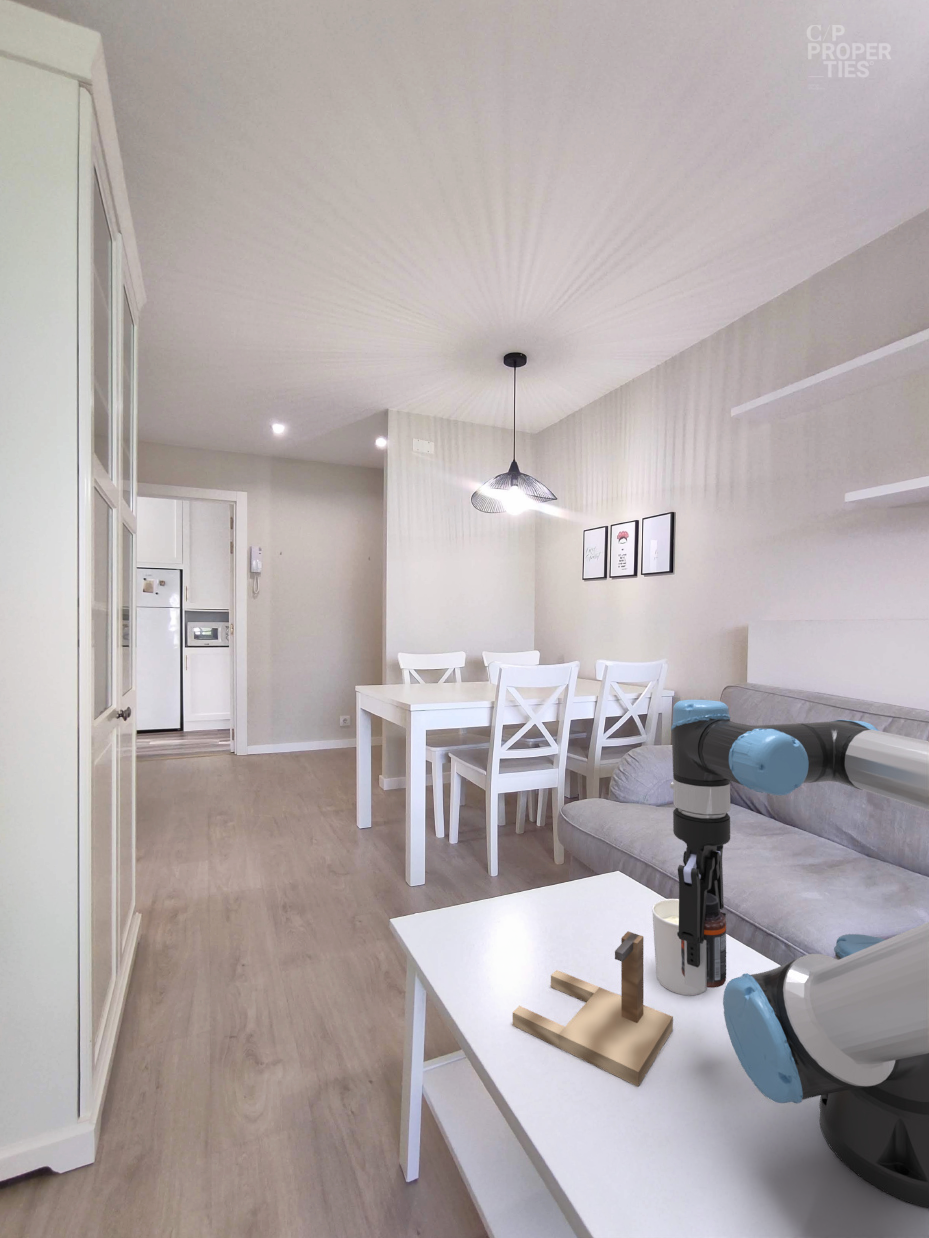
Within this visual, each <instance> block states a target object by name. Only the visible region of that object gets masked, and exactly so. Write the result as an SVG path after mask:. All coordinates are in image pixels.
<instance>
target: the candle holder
mask: <svg viewBox="0 0 929 1238" xmlns="http://www.w3.org/2000/svg"><path fill="white" fill-rule="evenodd" d="M651 913H652V922H653V923H652V924H653V927H652V928H653V940H654V941H653V943H654V958H655V973H656V979H657V981H658V983H659V984H660V985H661V986H662V987H663V988H665V989H666V990H668V991H670V992H673V993H674V994H676V995H677V994H678V995H682V996H699V995H701V994H703V993H705V991H703V990H700V989H697V988H694V987H692V986H689V985H686V984H685V977H684V975H683V974H682V969H681V939H679V937H678V936H677V932H679V898H666V899H661V900H658V901H656V902H654V903H653V904H652V906H651Z"/></svg>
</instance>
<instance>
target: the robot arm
mask: <svg viewBox="0 0 929 1238" xmlns="http://www.w3.org/2000/svg"><path fill="white" fill-rule="evenodd" d="M729 709H730V708H729V706H728V705H727V704H726V703H724V702H723V701H719V700H718V701H717V700H711V699H710V700H709V699H685V700H684V699H682V700H678V701H677V702H676V703H675V704H674V705H673V709H672V725H671V728H670V730H671V745H672V747H671V748H672V749H671V750H672V751H671V753H672V776H673V778H672V781H671V782H670V784H669V787H670V789H672V790H673V794H672V795H673V796H672V797H673V805H674V806H675V809H673V811H672V814H673V815H672V818H673V819H672V820H673V821H672V825H673V828H672V829H673V830H672V831H673V835H674V836H675V837H676V838H677V839H678V840H681V841H682V842H684V843H685V844H686V848H685V849H686V850H684V851H683V856H682V857H683V858H682V862H683V865H681V864H679V865H678V866H677V875H678V876H677V877H678V899H679V932H677V936H678V937H679V939H681V940H684V950H685V984H686V985H689V986H692V987H694V988H697V989H700V990H703V991H704V992H706V991H707V989H708V988H707V957H706V940H704V926H705V912H706V898H707V893H710V894H712V895H714V896H716V897H717V898H718V902H719V903H718V905H719V909H718V910H719V911H720V912H721V913H722V914H723V916H724V917H725V919H727V917H726V916H727V913H726V912H722V910H724V907H725V904H724V874H723V871H724V870H723V868H724V867H723V852H724V851H723V850H724V845H726V844H728V843H729V842H730V840H731V816H730V815H729V812H730V811H731V782H734V783H735V784H739V785H741V786H744V787H746V788H747V789H748V790H752V791H755V792H758V793H761V794H762V793H763V794H764V793H765V794H769V795H772V796H778V797H779V796H787V795H790V794H791V793H793V791H795V790H796V789H798V788H800V787H801V786H802V785H803V784H811V783H812V784H813V783H821V782H822V783H823V782H833V783H835V782H836V783H839V784H842V785H845V786H847V787H851V788H855V789H857V790H861V791H865V792H867V793H871V794H875V795H877V796H880V797H883V798H887V799H890V800H893V801H896V802H900V803H902V804H904V805H905V804H906V805H908V806H912V807H914V808H918V809H921V810H923V811H927V812H929V741H928V740H925V739H924V740H923V739H919V738H916V737H915V738H914V737H911V736H910V737H909V736H906V735H901V734H895V733H890V732H885V731H881V730H879V729H878V728H877V727H875V726H874V725H873V724H871V723H869V722H866V721H863V720H862V721H861V720H850V719H836V720H831V721H820V722H819V721H818V722H803V723H801V722H800V723H799V722H798V723H784V724H783V723H779V724H759V725H757V724H756V725H753V724H746V723H741V722H740V723H739V722H735V721H731V716H730V710H729ZM833 951H834V953H835V957H833V956H829V955H827V954H823V953H822V954H821V953H809V954H805V955H802V956H800V957H798V958H796V959H793V960H791V961H789V962H787V963H784V964H782V965H780V966H778V967H775V968H773V969H769V970H767V971H762V972H757V973H753V974H749V973H747V972H746V973H743V974H742V975H741V976H738V977H735V978H733V979H730V980H729V981H728V983H727V984H726V986H725V988H724V991H723V999H722V1000H723V1001H722V1005H723V1006H722V1007H723V1016H724V1021H725V1025H726V1026H725V1027H726V1030H727V1034H728V1037H729V1040H730V1043H731V1045H732V1047H733V1050H734V1052H735V1054H736V1057H737V1059H738V1062H739V1063H740V1064H741V1067H742V1068H743V1070H744V1072H745V1074H746V1075H747V1076H748V1078H749V1079H750V1080H751V1082H752V1083H753V1085H754V1086H755V1087H756V1089H758V1091H759V1092H760V1093H761V1094H762V1095H763V1096H764V1097H766V1098H767V1099H769V1100H770V1101H772V1102H775V1103H778V1104H788V1103H789V1104H790V1103H794V1104H800V1103H802V1102H803V1100H807V1099H811V1098H816V1097H819V1105H818V1106H819V1107H818V1108H819V1111H818V1112H819V1120H818V1121H819V1125H820V1130H821V1133H822V1135H823V1137H824V1139H825V1141H826V1143H827V1144H828V1146H829V1147H830V1148H831V1150H832V1151H833V1152H834V1154H835V1155H836V1156H837V1157H838V1158H839V1159H840V1160H841V1162H843V1163H844V1164H845V1165H846V1166H847V1167H848V1168H849V1169H850V1170H852V1171H853V1172H854V1173H855V1174H856V1175H858V1176H859V1177H860V1178H862V1179H863V1180H864V1181H866V1182H867V1183H869V1184H871V1185H872V1186H874V1187H875V1188H877V1189H879V1190H881V1191H882V1192H884V1193H885V1194H886V1193H887V1194H888V1195H891V1196H892V1197H895V1198H897V1199H899V1200H902V1201H905V1202H908V1203H910V1204H912V1205H913V1204H914V1205H916V1206H920V1207H926V1208H929V921H927V922H925V923H922V924H920V925H918V926H916V927H913V928H911V929H908V930H906V931H904V932H901V933H899V934H897V935H894V936H892V937H889V938H887V939H884V938H882V937H881V938H880V937H877V936H872V935H866V934H858V933H848V934H843V935H841V936H838V938H837V939H836V943H835V945H834V948H833Z"/></svg>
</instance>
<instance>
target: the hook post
mask: <svg viewBox="0 0 929 1238" xmlns="http://www.w3.org/2000/svg"><path fill="white" fill-rule="evenodd" d="M620 940H621V941H620V942H621V944H620V945H619V946H617V948H616V949H615V950H614V959H615V961H619V962H620V963H621V967H620V968H621V976H620V980H621V982H620V983H621V989H620V990H621V991H620V994H621V995H620V996H621V1017H624V1018H626V1019H628V1020H631V1021H633V1022H635V1023H638V1022H639V1020H640V1019H641V1017H642V1016H643V1005H644V936H643V935H640V934H637V933H635V932H631V931H626V932H625V933H624V935H623V936H622V937H621V939H620Z"/></svg>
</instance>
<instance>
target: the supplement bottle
mask: <svg viewBox="0 0 929 1238" xmlns="http://www.w3.org/2000/svg"><path fill="white" fill-rule="evenodd" d="M718 903H719V902H718V898H717V897H716V896H714V895H712V894H710V893H707V898H706V912H705V926H704V940H706V957H707V989H714V988H719V987H721V986H724V984H726V981H727V921H726V918H725V917H724V916H723V914H722V913H721V912H722V911H721V910H720V911H719V910H718V909H719V905H718ZM681 969H682V974H683V975H684V977H685V950H684V940H681Z"/></svg>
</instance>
